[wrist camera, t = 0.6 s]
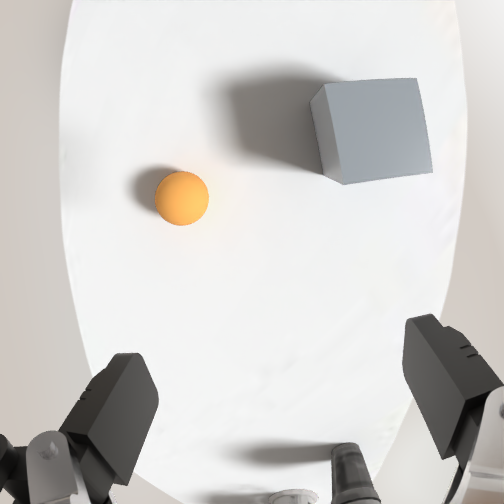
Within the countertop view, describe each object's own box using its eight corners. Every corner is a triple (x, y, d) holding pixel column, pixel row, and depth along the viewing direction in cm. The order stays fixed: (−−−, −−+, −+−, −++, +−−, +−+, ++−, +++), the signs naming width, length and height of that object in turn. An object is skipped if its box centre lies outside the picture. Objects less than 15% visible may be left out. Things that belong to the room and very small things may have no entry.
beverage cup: (330, 467, 43) (342, 567, 24) (316, 447, 42) (326, 559, 23) (371, 453, 42) (394, 553, 23) (361, 431, 40) (386, 544, 21)
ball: (159, 176, 31) (141, 181, 26) (207, 164, 30) (195, 167, 25) (171, 223, 32) (155, 236, 28) (218, 213, 32) (208, 225, 27)
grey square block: (309, 102, 28) (323, 83, 19) (380, 94, 27) (416, 78, 19) (323, 175, 30) (343, 184, 22) (392, 165, 29) (432, 172, 21)
